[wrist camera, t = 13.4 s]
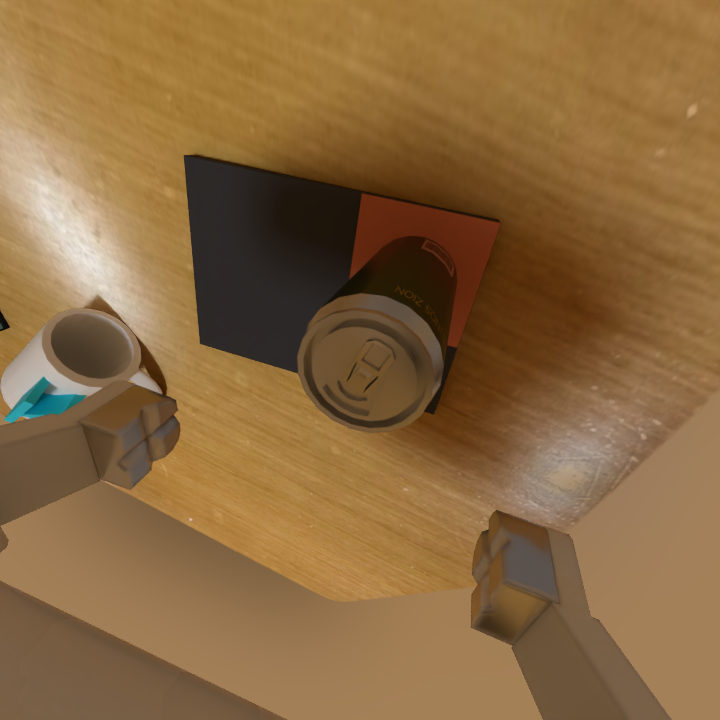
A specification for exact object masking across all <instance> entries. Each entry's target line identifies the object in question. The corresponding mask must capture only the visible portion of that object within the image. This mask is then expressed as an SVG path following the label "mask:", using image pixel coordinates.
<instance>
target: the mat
mask: <svg viewBox="0 0 720 720" xmlns="http://www.w3.org/2000/svg"><path fill="white" fill-rule="evenodd" d="M184 163H185V174H186V186H187V198H188V209H189V221H190V232H191V244H192V255H193V267H194V279H195V290H196V302H197V313H198V325H199V336H200V344H202V345H206V346H209V347H212V348H216V349H219V350H222V351H226V352H229V353H232V354H236V355H239V356H242V357H246V358H249V359H252V360H255V361H259V362H262V363H265V364H269V365H272V366H275V367H279V368H282V369H285V370H289V371H292V372H295V373H298V361H297V355H298V352H299V349H300V345H301V342H302V339H303V338H304V336H305V333H306V329H307V326H308V323H309V322H310V321H311V320H312V318H313V317H314V316H315V315H316V313H317V312H318V311H319V310H320V308H321V307H322V306H323V305H324V304H325V303H326V302H327V301H328V300H329V299H330V298H331V297H332V296H333V295H334V294H335V293H336V292H338V291H339V290H340V289H341V288H342V287H343V286H344V285H345V284H346V283H347V282H348V281H349V280H350V279H351V278H352V277H353V276H354V275H355V274H356V273H357V272H358V271H359V270H360V269H361V268H362V267H363V266H364V265H365V264H366V263H367V262H368V261H369V260H370V259H371V258H372V257H373V256H374V255H375V254H376V253H377V252H378V251H379V250H380V249H381V248H382V247H383V246H385V245H386V244H388V243H390V242H391V241H393V240H394V239H397V238H401V237H406V236H419V237H425V238H427V239H430V240H432V241H434V242H436V243H438V244H439V245H440V246H441V247H442V248H444V249H445V250H446V251H447V252H448V253H449V255H450V257H451V259H452V261H453V263H454V264H455V267H456V273H457V280H458V281H457V287H456V293H455V299H454V306H453V312H452V318H451V324H450V331H449V337H448V343H447V349H446V356H445V362H444V368H443V374H442V379H441V385H440V387H439V389H438V390H437V392H436V393H435V395H434V397H433V398H432V400H431V402H430V403H429V404H428V405H427V407H426V409H425V410H424V412H428V413H431V414H434V413H435V410H436V407H437V404H438V401H439V399H440V396H441V393H442V390H443V387H444V384H445V381H446V378H447V376H448V373H449V370H450V367H451V364H452V361H453V358H454V355H455V352H456V350H457V348H458V345H459V342H460V339H461V336H462V333H463V331H464V328H465V325H466V322H467V319H468V316H469V313H470V310H471V308H472V305H473V302H474V299H475V296H476V293H477V290H478V287H479V285H480V282H481V279H482V276H483V273H484V270H485V267H486V264H487V262H488V259H489V256H490V253H491V250H492V247H493V244H494V241H495V238H496V236H497V233H498V230H499V227H500V224H501V223H500V221H499V220H496V219H492V218H487V217H482V216H478V215H473V214H468V213H464V212H459V211H454V210H449V209H445V208H440V207H435V206H431V205H426V204H421V203H417V202H412V201H407V200H403V199H398V198H393V197H388V196H384V195H379V194H374V193H370V192H365V191H360V190H356V189H351V188H346V187H342V186H337V185H332V184H327V183H323V182H318V181H313V180H309V179H304V178H299V177H295V176H290V175H285V174H281V173H276V172H271V171H266V170H262V169H257V168H252V167H248V166H243V165H238V164H234V163H229V162H224V161H219V160H215V159H210V158H205V157H201V156H196V155H184Z"/></svg>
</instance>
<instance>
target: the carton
mask: <svg viewBox="0 0 720 720" xmlns="http://www.w3.org/2000/svg"><path fill="white" fill-rule="evenodd" d="M8 328H10V327H9V326H8V324H7V322H6V321H5V319H4V317H3V316H2V314H1V312H0V331H2V330H5V329H8Z"/></svg>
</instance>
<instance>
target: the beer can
mask: <svg viewBox="0 0 720 720" xmlns="http://www.w3.org/2000/svg"><path fill="white" fill-rule="evenodd" d="M457 281H458V280H457V273H456V267H455V264H454V263H453V261H452V259H451V257H450V255H449V253H448V252H447V251H446V250H445V249H444V248H442V247H441V246H440V245H439V244H438V243H436V242H434V241H432V240H430V239H427V238H425V237H419V236H406V237H401V238H397V239H394V240H393V241H391V242H390V243H388V244H386V245H385V246H383V247H382V248H381V249H380V250H379V251H378V252H377V253H376V254H375V255H374V256H373V257H372V258H371V259H370V260H369V261H368V262H367V263H366V264H365V265H364V266H363V267H362V268H361V269H360V270H359V271H358V272H357V273H356V274H355V275H354V276H353V277H352V278H351V279H350V280H349V281H348V282H347V283H346V284H345V285H344V286H343V287H342V288H341V289H340V290H339V291H338V292H336V293H335V294H334V295H333V296H332V297H331V298H330V299H329V300H328V301H327V302H326V303H325V304H324V305H323V306H322V307H321V308H320V310H319V311H318V312H317V313H316V315H315V316H314V317H313V318H312V320H311V321H310V322H309V323H308V326H307V329H306V333H305V336H304V338H303V339H302V342H301V345H300V349H299V352H298V355H297V361H298V375H299V377H300V380H301V383H302V385H303V388H304V390H305V392H306V394H307V395H308V396H309V398H310V399H311V400H312V402H313V403H314V404H315V406H316V407H317V408H318V409H319V410H320V411H322V412H323V413H324V414H325V415H327V416H328V417H329V418H330V419H332V420H333V421H335V422H337V423H339V424H342V425H344V426H346V427H348V428H350V429H354V430H359V431H363V432H368V433H380V432H391V431H394V430H397V429H400V428H403V427H406V426H408V425H409V424H410V423H412V422H413V421H414V420H416V419H417V418H418V417H420V416H421V415H422V413H423V412H424V410H425V409H426V407H427V405H428V404H429V403H430V402H431V400H432V398H433V397H434V395H435V393H436V392H437V390H438V389H439V387H440V385H441V379H442V374H443V368H444V362H445V356H446V349H447V343H448V337H449V331H450V324H451V318H452V312H453V306H454V299H455V293H456V287H457Z"/></svg>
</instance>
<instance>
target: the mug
mask: <svg viewBox="0 0 720 720" xmlns="http://www.w3.org/2000/svg"><path fill="white" fill-rule="evenodd" d="M140 362H141V348H140V345H139V343H138V341H137V338H136V336H135V335H134V334H133V332H132V331H131V330H130V329H129V327H128V326H126V325H125V324H124V323H123V322H121V321H120V320H119V319H117V318H116V317H114V316H111V315H109V314H107V313H105V312H103V311H98V310H93V309H89V308H81V309H70V310H67V311H64V312H61V313H58V314H57V315H56V316H55V317H53V318H52V319H51V320H49V321H48V322H47V323H46V324H45V325H44V327H43V328H42V329H41V330H40V331H39V332H38V333H37V334H36V335H35V337H34V338H33V339H32V340H31V341H30V342H29V343H28V344H27V345H26V346H25V348H24V349H23V350H22V351H21V352H20V353H19V354H18V355H17V356H16V358H15V359H14V360H13V361H12V362H11V363H10V364H9V365H8V367H7V368H6V370H5V371H4V374H3V376H2V379H1V393H2V395H3V398H4V400H5V402H6V403H7V405H8V406H9V407H10V408H11V409H12V410H11V411H10V412H9V414H8V415H7V416H6V418H5V419H4V420H6V421H8V422H11V423H13V422H14V421H16V420H17V419H18V418H19V417H20V416H22V417H24V418H26V419H31V418H35V417H39V416H44V415H48V414H52V413H54V414H57V415H59V414H61V413H63V412H64V411H66V410H67V409H69V408H71V407H72V406H74V405H76V404H77V403H79V402H81V401H82V400H84V399H86V398H87V397H89V396H91V395H92V394H94V393H96V392H97V391H99V390H101V389H102V388H104V387H105V386H107V385H109V384H110V383H112V382H114V381H118V380H125V381H128V380H130V381H132V382H134V383H135V384H136V385H139V386H142V387H144V388H147V389H150V390H152V391H155V392H157V393H160V394H162V390H161V389H160V387H159V386H158V384H157V383H156V382H155V381H154V380H153V379H152V378H151V377H150V376H149V375H148V374H147V373H145V372H143V371H142V370H140V369H139V365H140Z"/></svg>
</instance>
